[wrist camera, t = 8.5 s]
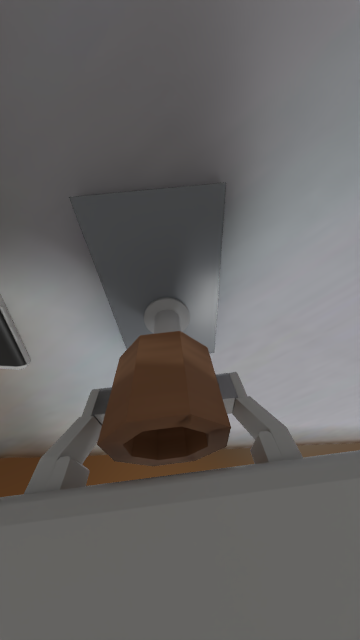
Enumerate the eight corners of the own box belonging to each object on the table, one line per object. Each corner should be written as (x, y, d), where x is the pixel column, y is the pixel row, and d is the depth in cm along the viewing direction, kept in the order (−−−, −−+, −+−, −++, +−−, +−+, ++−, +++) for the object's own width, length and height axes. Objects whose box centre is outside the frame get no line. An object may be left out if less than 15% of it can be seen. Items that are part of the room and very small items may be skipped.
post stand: (220, 183, 12) (275, 172, 6) (212, 345, 21) (229, 401, 16) (76, 196, 12) (-9, 199, 6) (133, 354, 21) (121, 414, 15)
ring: (207, 327, 11) (235, 408, 7) (206, 382, 14) (223, 457, 10) (111, 338, 10) (79, 427, 6) (134, 391, 14) (123, 470, 10)
